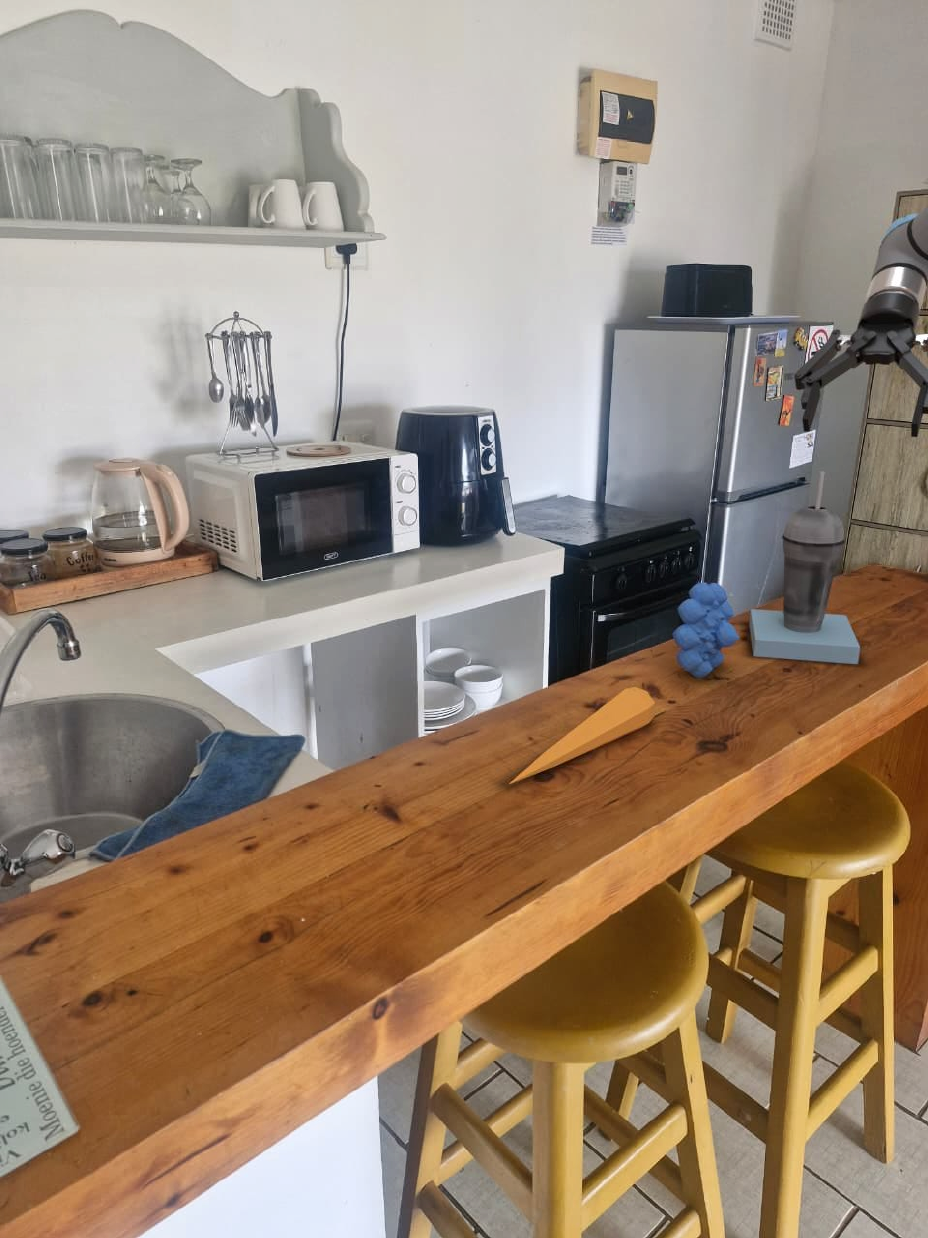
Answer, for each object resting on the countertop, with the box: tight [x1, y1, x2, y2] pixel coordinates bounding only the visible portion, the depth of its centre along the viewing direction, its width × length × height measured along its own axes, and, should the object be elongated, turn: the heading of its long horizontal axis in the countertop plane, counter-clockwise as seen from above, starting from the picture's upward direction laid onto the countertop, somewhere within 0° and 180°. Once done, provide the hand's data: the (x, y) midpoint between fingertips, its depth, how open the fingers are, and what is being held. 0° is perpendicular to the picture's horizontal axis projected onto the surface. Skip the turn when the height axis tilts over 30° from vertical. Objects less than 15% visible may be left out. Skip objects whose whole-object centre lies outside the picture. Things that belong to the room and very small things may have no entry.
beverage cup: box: [781, 470, 846, 633], centre depth 107 cm, size 7×7×20 cm
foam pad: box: [748, 608, 861, 665], centre depth 111 cm, size 12×12×2 cm
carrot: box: [509, 686, 656, 785], centre depth 85 cm, size 20×4×4 cm, turn 131°
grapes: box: [672, 582, 740, 679], centre depth 100 cm, size 12×7×12 cm, turn 138°
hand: (858, 428), depth 117 cm, fingers open, 13 cm apart
